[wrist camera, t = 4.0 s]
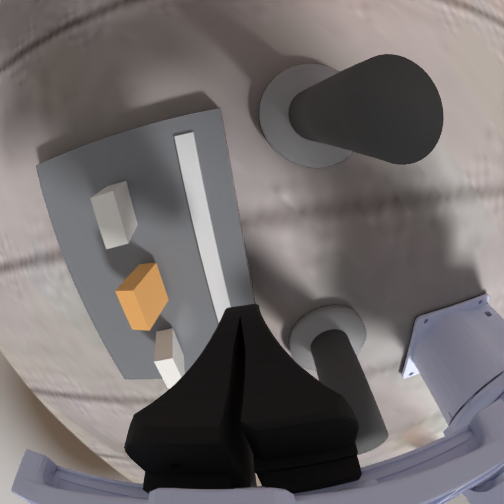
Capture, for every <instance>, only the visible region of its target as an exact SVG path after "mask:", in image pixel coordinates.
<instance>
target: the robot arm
mask: <svg viewBox="0 0 504 504" xmlns="http://www.w3.org/2000/svg"><path fill="white" fill-rule="evenodd" d="M489 299H490V296H489V295H488V294H484V295H482V296H479V297H476V298H473V299H470V300H468V301H465V302H462V303H459V304H456V305H453V306H450V307H447V308H444V309H440V310H437V311H434V312H431V313H428V314H424V315H421V316H418V317H417V318H416V320H415V323H414V328H413V332H412V337H411V341H410V345H409V349H408V353H407V357H406V360H405V364H404V368H403V371H402V377H403V378H408V377H411V376H414V375H416V374H419V373H420V375H421V376H422V378H423V380H424V381H425V383H426V385H427V387H428V389H429V390H430V392H431V394H432V396H433V398H434V399H435V401H436V403H437V405H438V407H439V409H440V410H441V412H442V414H443V416H444V418H445V420H446V422H447V424H448V426H449V427H448V428H447V429H446V430H445V431H444V432H443V433H444V435H445V437H443V438H440V439H438V440H436V441H434V442H432V443H429V444H427V445H425V446H422V447H420V448H418V449H415V450H413V451H410V452H407V453H405V454H402V455H399V456H397V457H394V458H391V459H388V460H385V461H382V462H379V463H376V464H373V465H369V466H366V467H362V468H360V465H359V461H358V458H357V454H358V450H357V447H356V444H355V442H356V439H357V435H358V432H359V422H358V419H357V417H356V415H355V413H354V411H353V410H352V408H351V406H350V405H349V403H348V402H347V401H346V399H345V398H344V396H343V395H341V394H339V393H337V392H336V391H334V390H332V389H330V388H329V387H327V386H326V385H324V384H323V383H321V382H320V381H318V380H317V379H315V378H314V377H313V376H312V375H310V374H309V373H308V372H307V371H306V370H304V369H303V368H302V367H301V366H300V365H299V364H297V363H296V362H295V361H294V360H293V359H292V358H291V357H290V355H289V354H288V353H287V352H286V351H285V350H284V349H283V348H282V346H281V345H280V344H279V343H278V341H277V340H276V339H275V337H274V336H273V334H272V333H271V331H270V330H269V328H268V326H267V325H266V323H265V321H264V319H263V317H262V315H261V313H260V310H259V305H257V304H250V305H243V306H236V307H228V308H226V309H225V311H224V313H223V316H222V318H221V320H220V322H219V324H218V326H217V328H216V330H215V332H214V333H213V335H212V337H211V339H210V340H209V342H208V344H207V345H206V347H205V348H204V350H203V351H202V353H201V354H200V356H199V357H198V358H197V360H196V361H195V362H194V364H193V365H192V366H191V367H190V369H189V370H188V371H187V372H186V373H185V374H184V375H183V376H182V377H181V379H180V380H179V381H178V382H177V383H176V384H175V385H174V386H172V387H171V388H170V389H169V390H168V391H167V392H166V393H164V394H163V395H162V396H161V397H159V398H158V399H157V400H155V401H154V402H153V403H151V404H150V405H148V406H147V407H145V408H144V409H142V410H141V411H139V412H137V413H136V414H134V416H133V419H132V421H131V424H130V427H129V430H128V434H127V438H126V442H125V446H124V448H125V452H126V453H127V454H128V455H129V457H130V458H131V459H132V460H133V461H134V462H135V463H136V464H138V465H139V466H140V467H141V468H142V469H143V470H144V471H145V477H144V483H143V484H139V483H132V482H125V481H119V480H114V479H108V478H104V477H99V476H95V475H91V474H87V473H82V472H79V471H75V470H71V469H68V468H64V467H61V466H58V465H56V464H55V463H54V462H53V461H52V460H51V459H50V458H48V457H46V456H45V455H42V454H40V453H37V452H34V451H31V450H28V449H26V451H25V454H24V456H23V459H22V461H21V464H20V466H19V469H18V472H17V475H16V477H15V480H14V483H13V486H12V489H11V490H12V492H13V493H15V494H17V495H18V496H19V497H21V498H23V499H24V500H26V501H27V502H29V503H31V504H444V503H446V502H448V501H450V500H452V499H453V498H455V497H457V496H459V495H460V494H463V495H464V496H465V497H466V498H467V500H468V501H469V503H471V504H504V319H503V318H502V317H501V316H500V315H499V314H498V313H497V312H496V311H495V310H494V309H493V308H492V307H491V306H490V305H489V304H488V302H489ZM502 470H503V471H502ZM255 473H256V474H257V476H258V478H259V480H260V482H261V484H262V486H259V487H257V484H256V476H255Z"/></svg>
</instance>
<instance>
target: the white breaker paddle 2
mask: <svg viewBox="0 0 504 504" xmlns="http://www.w3.org/2000/svg"><path fill="white" fill-rule="evenodd" d="M154 363H155V365H156V367H157V369H158V371H159V372H160V374H161V376H162V378H163V380H164V382H165V384H166V385H167V387H168V389H169V388H171V387H172V386H174V385H175V384H176V383H177V382H178V381H179V380H180V379H181V377H182V376H183V375H184V374H185V368H184V354H183V352H182V350H181V347H180V345H179V342H178V340H177V337H176V335H175V332H174V330H173V328H171V329H167V330H162V331H157V332H156V341H155V353H154Z"/></svg>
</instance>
